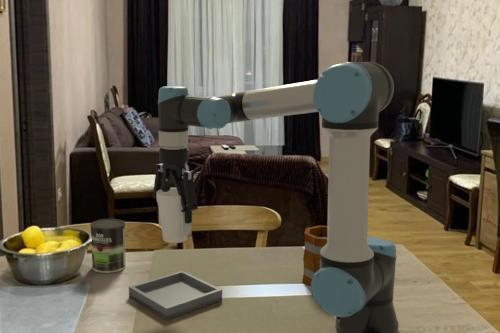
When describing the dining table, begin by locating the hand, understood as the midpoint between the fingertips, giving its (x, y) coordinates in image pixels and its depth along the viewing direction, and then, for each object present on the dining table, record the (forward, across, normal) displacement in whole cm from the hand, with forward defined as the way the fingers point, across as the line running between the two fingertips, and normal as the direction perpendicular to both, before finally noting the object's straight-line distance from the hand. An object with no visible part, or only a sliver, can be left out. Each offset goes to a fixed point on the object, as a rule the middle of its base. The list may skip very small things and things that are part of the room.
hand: (174, 230), depth 158 cm
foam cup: (+3, 0, 0) cm, 3 cm away
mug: (+20, -20, -43) cm, 51 cm away
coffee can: (+20, +32, +2) cm, 38 cm away
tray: (+19, 0, 0) cm, 19 cm away
